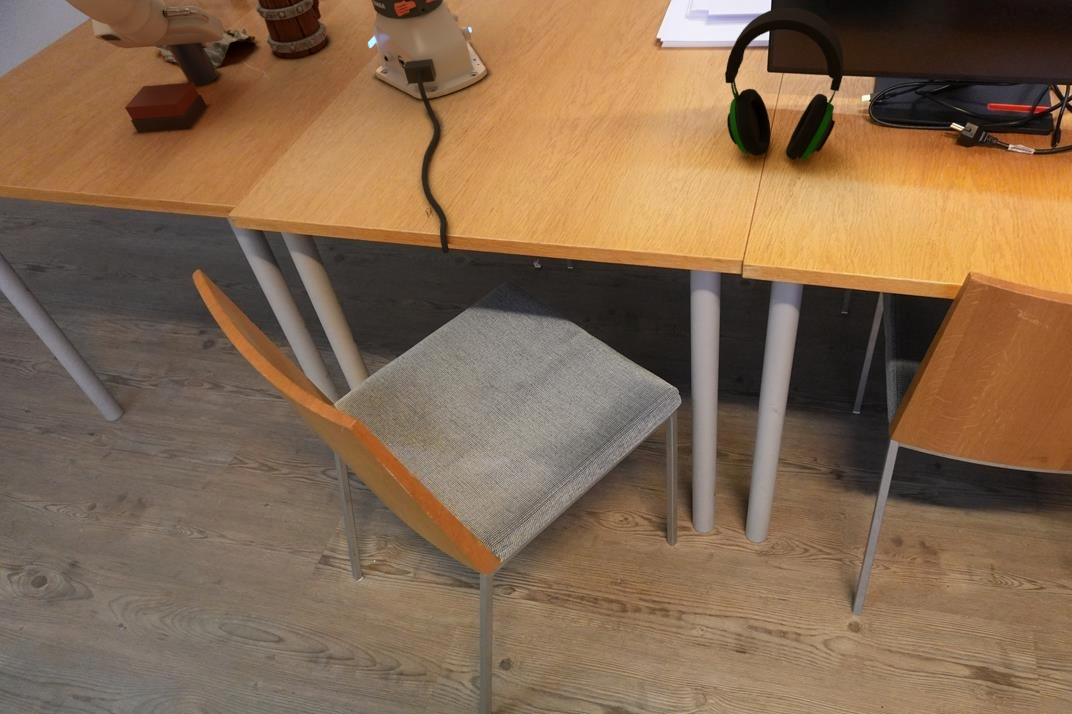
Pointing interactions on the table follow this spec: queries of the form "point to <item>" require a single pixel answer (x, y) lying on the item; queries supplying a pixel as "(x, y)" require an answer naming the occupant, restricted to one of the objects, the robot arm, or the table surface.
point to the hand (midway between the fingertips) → (189, 45)
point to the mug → (293, 26)
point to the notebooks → (166, 107)
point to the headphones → (749, 109)
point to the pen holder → (194, 63)
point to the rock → (217, 46)
